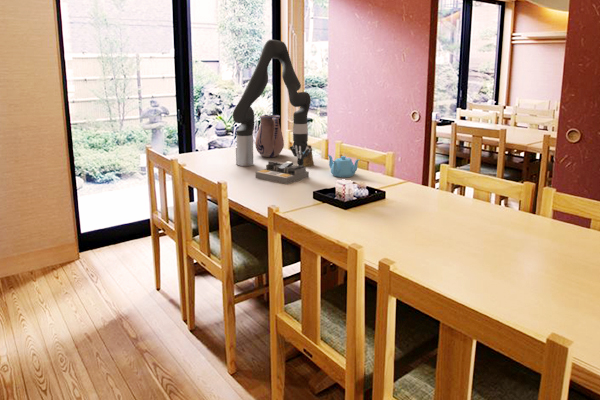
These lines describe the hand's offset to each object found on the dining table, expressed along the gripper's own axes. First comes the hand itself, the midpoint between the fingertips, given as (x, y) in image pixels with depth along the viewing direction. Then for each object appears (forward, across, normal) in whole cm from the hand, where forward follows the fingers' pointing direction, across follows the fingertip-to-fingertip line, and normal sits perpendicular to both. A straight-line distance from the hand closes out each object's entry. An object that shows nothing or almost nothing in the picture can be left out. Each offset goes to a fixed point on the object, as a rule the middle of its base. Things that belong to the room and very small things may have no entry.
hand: (300, 165), depth 267 cm
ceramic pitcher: (+7, -46, +30) cm, 55 cm away
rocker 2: (+1, -7, -4) cm, 8 cm away
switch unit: (+6, -7, -6) cm, 12 cm away
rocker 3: (+1, 0, -4) cm, 4 cm away
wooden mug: (+7, -17, +26) cm, 31 cm away
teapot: (+7, +15, +16) cm, 23 cm away
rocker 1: (+1, -14, -4) cm, 15 cm away
